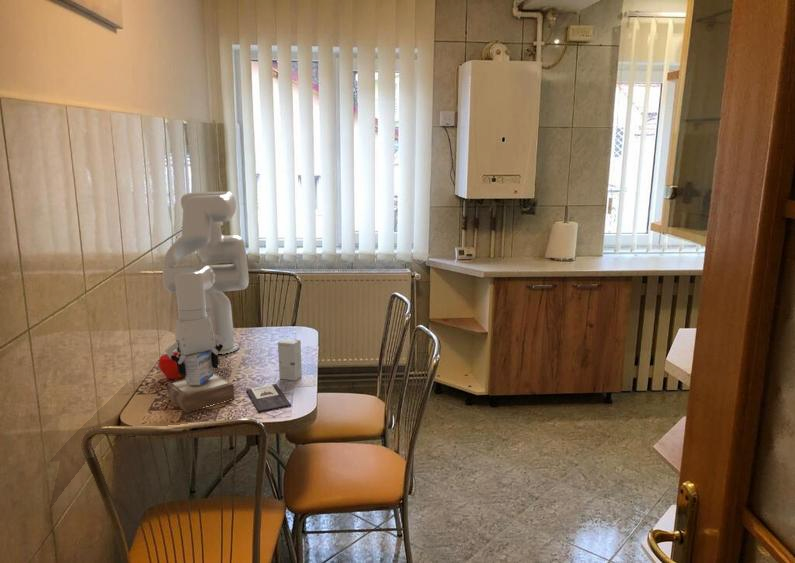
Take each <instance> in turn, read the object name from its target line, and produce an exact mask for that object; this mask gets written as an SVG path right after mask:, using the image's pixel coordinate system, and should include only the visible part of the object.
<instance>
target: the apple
mask: <svg viewBox="0 0 795 563" xmlns="http://www.w3.org/2000/svg"><path fill="white" fill-rule="evenodd" d="M178 353H179V352H177V351H175V352H174V351H173V354H174V355H175V356H177V355H178ZM183 363H184V362H183ZM158 368H159V370H160V372H162V374H163V375H164V376H165V377H166V378H167V379H172V380H177V379H178V380H179V379H181V378H184V377H183V376H181V375H180V374H178V369H177V362H175V361H174V360H172V359H171V358H170V357H169V356H168V355H167V354H163V355H161V356H160V358H159V360H158Z"/></svg>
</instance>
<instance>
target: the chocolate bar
mask: <svg viewBox="0 0 795 563" xmlns="http://www.w3.org/2000/svg"><path fill="white" fill-rule="evenodd" d="M247 392H248V393H247ZM246 393H247V394H248V396H249V398H250V397H251V398H250V400H251V399H252V400H251V402H252V401H253V402H252V404H253V405H254V407H255V409H256V410H257V412H258V413H264V412H270V411H275V410H279V408H280V409H284V407H285V408H289V407H288V406H290V407H292V404H291V403H290V401H289V400H288V399H287V397H286V396H285V394H284V393H283V391H282V390H281V389H280V387H279V386H278V384H277V383H275V384H268V385H263V386H258V387H252V388H247V389H246Z"/></svg>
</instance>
